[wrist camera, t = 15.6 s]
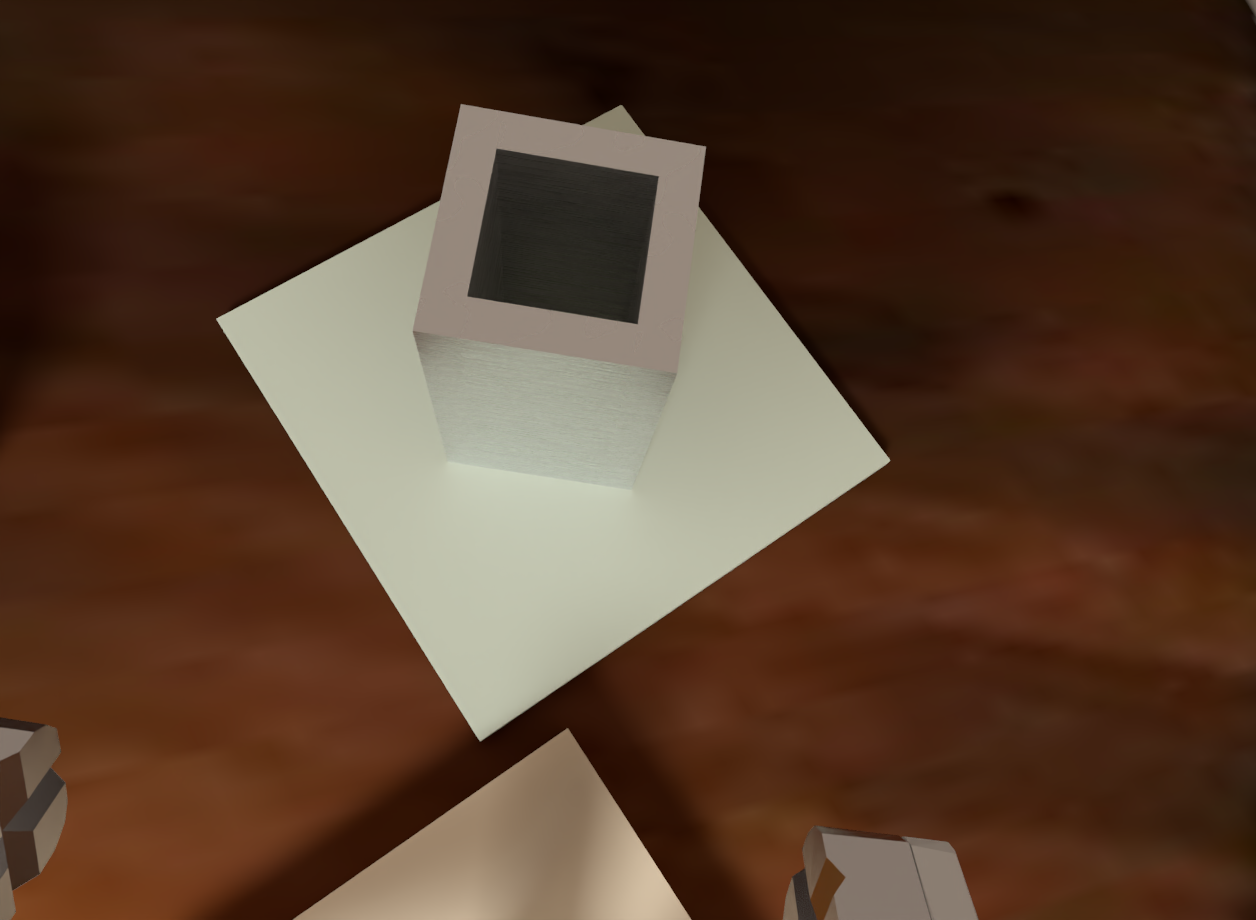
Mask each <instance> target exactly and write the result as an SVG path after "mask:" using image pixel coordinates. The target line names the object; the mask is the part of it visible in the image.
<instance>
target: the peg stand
mask: <svg viewBox="0 0 1256 920" xmlns="http://www.w3.org/2000/svg"><path fill="white" fill-rule="evenodd" d="M293 920H691V918H690V917H689V915H688V914H687V912H686V911H685V909H684V908H683V906H682V905H681V903H680V901H679V900H678V898H677V897H676V895H675V894H674V892H673V891H672V889H671V887H670V886H669V884H668V883H667V881H666V880H665V878H664V877H663V875H662V873H661V872H660V870H659V869H658V867H657V866H656V864H655V863H654V861H653V860H652V858H651V856H650V855H649V853H648V852H647V850H646V849H645V847H644V846H643V844H642V842H641V841H640V839H639V838H638V836H637V835H636V833H635V832H634V830H633V828H632V827H631V825H630V824H629V822H628V821H627V819H626V818H625V816H624V815H623V813H622V811H621V810H620V808H619V807H618V805H617V804H616V802H615V801H614V799H613V797H612V796H611V794H610V793H609V791H608V790H607V788H606V787H605V785H604V783H603V782H602V780H601V779H600V777H599V776H598V774H597V773H596V771H595V770H594V768H593V766H592V765H591V763H590V762H589V760H588V759H587V757H586V756H585V754H584V752H583V751H582V749H581V748H580V746H579V745H578V743H577V742H576V740H575V738H574V737H573V735H572V734H571V732H570V731H569V729H568V728H567V729H566V730H564V731H563V732H561V733H560V734H558V735H557V736H556V737H554V738H553V739H551V740H550V741H548V742H547V743H546V744H544V745H543V746H541V747H540V748H538V749H537V750H535V751H534V752H533V753H531V754H530V755H528V756H527V757H525V758H524V759H523V760H521V761H520V762H518V763H517V764H515V765H514V766H512V767H511V768H510V769H508V770H507V771H505V772H504V773H502V774H501V775H500V776H498V777H497V778H495V779H494V780H492V781H491V782H490V783H488V784H487V785H485V786H484V787H482V788H481V789H479V790H478V791H477V792H475V793H474V794H472V795H471V796H469V797H468V798H467V799H465V800H464V801H462V802H461V803H459V804H458V805H457V806H455V807H454V808H452V809H451V810H449V811H448V812H446V813H445V814H444V815H442V816H441V817H439V818H438V819H436V820H435V821H434V822H432V823H431V824H429V825H428V826H426V827H425V828H424V829H422V830H421V831H419V832H418V833H416V834H415V835H413V836H412V837H411V838H409V839H408V840H406V841H405V842H403V843H402V844H401V845H399V846H398V847H396V848H395V849H393V850H392V851H391V852H389V853H388V854H386V855H385V856H383V857H382V858H380V859H379V860H378V861H376V862H375V863H373V864H372V865H370V866H369V867H368V868H366V869H365V870H363V871H362V872H360V873H359V874H357V875H356V876H355V877H353V878H352V879H350V880H349V881H347V882H346V883H345V884H343V885H342V886H340V887H339V888H337V889H336V890H335V891H333V892H332V893H330V894H329V895H327V896H326V897H324V898H323V899H322V900H320V901H319V902H317V903H316V904H314V905H313V906H312V907H310V908H309V909H307V910H306V911H304V912H303V913H302V914H300V915H299V916H297V917H296V918H294V919H293Z"/></svg>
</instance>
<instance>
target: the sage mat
mask: <svg viewBox="0 0 1256 920" xmlns="http://www.w3.org/2000/svg"><path fill="white" fill-rule="evenodd" d="M584 126H590V127H595V128H601V129H607V130H613V131H619V132H624V133H630V134H636V135H642V136H645V135H644V134H643V133H642V131H641V130H640V129H639V127H638V126H637V125H636V123H635V122H634V121H633V119H632V118H631V117H630V115H629V114H628V113H627V111H626V110H625V109H624V107H623V106H622V105H620V106H618V107H616V108H614V109H612V110H611V111H609V112H607V113H605V114H603V115H601V116H599V117H597V118H595V119H594V120H592V121H590V122H588V123H586V124H584ZM439 205H440V201H438V202H436V203H435V204H433V205H431V206H429V207H427V208H425V209H423V210H421V211H419V212H418V213H416V214H414V215H412V216H410V217H408V218H406V219H404V220H402V221H401V222H399V223H397V224H395V225H393V226H391V227H389V228H387V229H385V230H383V231H382V232H380V233H378V234H376V235H374V236H372V237H370V238H368V239H366V240H365V241H363V242H361V243H359V244H357V245H355V246H353V247H351V248H349V249H348V250H346V251H344V252H342V253H340V254H338V255H336V256H334V257H332V258H331V259H329V260H327V261H325V262H323V263H321V264H319V265H317V266H315V267H313V268H312V269H310V270H308V271H306V272H304V273H302V274H300V275H298V276H296V277H295V278H293V279H291V280H289V281H287V282H285V283H283V284H281V285H279V286H278V287H276V288H274V289H272V290H270V291H268V292H266V293H264V294H262V295H261V296H259V297H257V298H255V299H253V300H251V301H249V302H247V303H245V304H243V305H242V306H240V307H238V308H236V309H234V310H232V311H230V312H228V313H226V314H225V315H223V316H221V317H219V318H217V321H218V323H219V324H220V326H221V327H222V329H223V331H224V332H225V334H226V335H227V337H228V339H229V340H230V342H231V343H232V345H233V347H234V348H235V350H236V352H237V353H238V355H239V356H240V358H241V360H242V361H243V363H244V364H245V366H246V368H247V369H248V371H249V372H250V374H251V376H252V377H253V379H254V380H255V382H256V384H257V385H258V387H259V388H260V390H261V392H262V393H263V395H264V396H265V398H266V400H267V401H268V403H269V404H270V406H271V408H272V409H273V411H274V412H275V414H276V416H277V417H278V419H279V420H280V422H281V424H282V425H283V427H284V428H285V430H286V432H287V433H288V435H289V436H290V438H291V440H292V441H293V443H294V444H295V446H296V448H297V449H298V451H299V452H300V454H301V456H302V457H303V459H304V461H305V462H306V464H307V465H308V467H309V469H310V470H311V472H312V473H313V475H314V477H315V478H316V480H317V481H318V483H319V485H320V486H321V488H322V489H323V491H324V493H325V494H326V496H327V497H328V499H329V501H330V502H331V504H332V505H333V507H334V509H335V510H336V512H337V513H338V515H339V517H340V518H341V520H342V521H343V523H344V525H345V526H346V528H347V529H348V531H349V533H350V534H351V536H352V537H353V539H354V541H355V542H356V544H357V545H358V547H359V549H360V550H361V552H362V553H363V555H364V557H365V558H366V560H367V561H368V563H369V565H370V566H371V568H372V570H373V571H374V573H375V574H376V576H377V578H378V579H379V581H380V582H381V584H382V586H383V587H384V589H385V590H386V592H387V594H388V595H389V597H390V598H391V600H392V602H393V603H394V605H395V606H396V608H397V610H398V611H399V613H400V614H401V616H402V618H403V619H404V621H405V622H406V624H407V626H408V627H409V629H410V630H411V632H412V634H413V635H414V637H415V638H416V640H417V642H418V643H419V645H420V646H421V648H422V650H423V651H424V653H425V654H426V656H427V658H428V659H429V661H430V662H431V664H432V666H433V667H434V669H435V670H436V672H437V674H438V675H439V677H440V679H441V680H442V682H443V683H444V685H445V687H446V688H447V690H448V691H449V693H450V695H451V696H452V698H453V699H454V701H455V703H456V704H457V706H458V707H459V709H460V711H461V712H462V714H463V715H464V717H465V719H466V720H467V722H468V723H469V725H470V727H471V728H472V730H473V731H474V733H475V735H476V736H477V738H478V739H479V741H480V742H481V741H483V740H484V739H486V738H487V737H488V736H490V735H491V734H493V733H494V732H496V731H497V730H499V729H500V728H502V727H503V726H505V725H506V724H507V723H509V722H510V721H512V720H513V719H515V718H516V717H518V716H519V715H521V714H522V713H524V712H525V711H527V710H528V709H529V708H531V707H532V706H534V705H535V704H537V703H538V702H540V701H541V700H543V699H544V698H546V697H547V696H548V695H550V694H551V693H553V692H554V691H556V690H557V689H559V688H560V687H562V686H563V685H565V684H566V683H567V682H569V681H570V680H572V679H573V678H575V677H576V676H578V675H579V674H581V673H582V672H584V671H585V670H586V669H588V668H589V667H591V666H592V665H594V664H595V663H597V662H598V661H600V660H601V659H603V658H604V657H605V656H607V655H608V654H610V653H611V652H613V651H614V650H616V649H617V648H619V647H620V646H622V645H623V644H624V643H626V642H627V641H629V640H630V639H632V638H633V637H635V636H636V635H638V634H639V633H641V632H642V631H643V630H645V629H646V628H648V627H649V626H651V625H652V624H654V623H655V622H657V621H658V620H660V619H661V618H663V617H664V616H665V615H667V614H668V613H670V612H671V611H673V610H674V609H676V608H677V607H679V606H680V605H682V604H683V603H684V602H686V601H687V600H689V599H690V598H692V597H693V596H695V595H696V594H698V593H699V592H701V591H702V590H703V589H705V588H706V587H708V586H709V585H711V584H712V583H714V582H715V581H717V580H718V579H720V578H721V577H722V576H724V575H725V574H727V573H728V572H730V571H731V570H733V569H734V568H736V567H737V566H739V565H740V564H741V563H743V562H744V561H746V560H747V559H749V558H750V557H752V556H753V555H755V554H756V553H758V552H759V551H760V550H762V549H763V548H765V547H766V546H768V545H769V544H771V543H772V542H774V541H775V540H777V539H778V538H779V537H781V536H782V535H784V534H785V533H787V532H788V531H790V530H791V529H793V528H794V527H796V526H797V525H798V524H800V523H801V522H803V521H804V520H806V519H807V518H809V517H810V516H812V515H813V514H815V513H816V512H818V511H819V510H820V509H822V508H823V507H825V506H826V505H828V504H829V503H831V502H832V501H834V500H835V499H837V498H838V497H839V496H841V495H842V494H844V493H845V492H847V491H848V490H850V489H851V488H853V487H854V486H856V485H857V484H858V483H860V482H861V481H863V480H864V479H866V478H867V477H869V476H870V475H872V474H873V473H875V472H876V471H877V470H879V469H880V468H882V467H883V466H885V465H886V464H887V463H888V462H889V461H890V459H889V458H888V457H887V455H886V454H885V453H884V451H883V450H882V449H881V447H880V446H879V445H878V443H877V442H876V441H875V439H874V438H873V437H872V435H871V434H870V433H869V432H868V430H867V429H866V428H865V426H864V425H863V424H862V422H861V421H860V420H859V418H858V417H857V416H856V414H855V413H854V412H853V410H852V409H851V408H850V406H849V405H848V404H847V402H846V401H845V400H844V398H843V397H842V396H841V394H840V393H839V392H838V390H837V389H836V388H835V387H834V385H833V384H832V383H831V381H830V380H829V379H828V377H827V376H826V375H825V373H824V372H823V371H822V369H821V368H820V367H819V365H818V364H817V363H816V361H815V360H814V359H813V357H812V356H811V355H810V353H809V352H808V351H807V349H806V348H805V347H804V346H803V344H802V343H801V342H800V340H799V339H798V338H797V336H796V335H795V334H794V332H793V331H792V330H791V328H790V327H789V326H788V324H787V323H786V322H785V320H784V319H783V318H782V316H781V315H780V314H779V312H778V311H777V310H776V308H775V307H774V306H773V305H772V303H771V302H770V301H769V299H768V298H767V297H766V295H765V294H764V293H763V291H762V290H761V289H760V287H759V286H758V285H757V283H756V282H755V281H754V279H753V278H752V277H751V275H750V274H749V273H748V271H747V270H746V269H745V267H744V266H743V265H742V264H741V262H740V261H739V260H738V258H737V257H736V256H735V254H734V253H733V252H732V250H731V249H730V248H729V246H728V245H727V244H726V242H725V241H724V240H723V238H722V237H721V236H720V234H719V233H718V232H717V230H716V229H715V228H714V226H713V225H712V224H711V223H710V221H709V220H708V219H707V217H706V216H705V215H704V213H703V212H702V211H701V209H700V208H699V207H698V213H697V221H696V229H695V237H694V245H693V253H692V261H691V269H690V277H689V284H688V292H687V300H686V308H685V316H684V324H683V332H682V340H681V347H680V355H679V363H678V371H677V375H676V378H675V380H674V383H673V385H672V388H671V390H670V393H669V396H668V398H667V401H666V403H665V406H664V408H663V411H662V413H661V416H660V419H659V421H658V424H657V426H656V429H655V431H654V434H653V436H652V439H651V441H650V444H649V447H648V449H647V452H646V454H645V457H644V459H643V462H642V464H641V467H640V470H639V472H638V475H637V477H636V480H635V482H634V485H633V487H632V490H628V489H621V488H615V487H608V486H602V485H595V484H589V483H582V482H576V481H569V480H563V479H556V478H550V477H543V476H537V475H530V474H524V473H517V472H511V471H504V470H498V469H491V468H485V467H478V466H472V465H466V464H459V463H453V462H448V461H447V458H446V454H445V450H444V447H443V443H442V439H441V435H440V432H439V428H438V424H437V420H436V417H435V413H434V409H433V405H432V402H431V398H430V394H429V391H428V387H427V383H426V379H425V376H424V372H423V368H422V364H421V361H420V357H419V353H418V349H417V346H416V342H415V338H414V335H413V326H414V321H415V317H416V312H417V307H418V303H419V298H420V293H421V289H422V284H423V279H424V275H425V270H426V265H427V261H428V256H429V251H430V247H431V242H432V237H433V233H434V228H435V223H436V219H437V214H438V209H439Z"/></svg>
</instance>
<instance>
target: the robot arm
mask: <svg viewBox="0 0 1256 920" xmlns="http://www.w3.org/2000/svg"><path fill="white" fill-rule="evenodd" d="M60 753H61V749H60V744H59V739H58V733H57V729H56V728H54V727H51V726H48V725H44V724H38V723H32V722H25V721H19V720H13V719H6V718H0V920H11V918H12V917H13V915H14V914H15V912H16V910H15V904H14V899H13V893H12V891H13V890H14V889H16V888H18V887H19V886H21V885H23V884H24V883H26V882H28V881H29V880H31V879H32V878H34V877H36V876H37V875H39V874H40V873H41V871H42V870H43V868H44V866H45V865H46V863H47V862H48V860H49V858H50V857H51V855H52V853H53V852H54V850H55V848H56V845H57V842H58V839H59V837H60V834H61V831H62V828H63V826H64V823H65V818H66V809H67V792H66V783H65V782H64V781H63V780H62V779H61V778H60V777H59V776H58V775H57V774H56V773H55V772H54V770H53V769H52V768H51V766H52V764H53V763H54V761H55V760H56V758H57V757H58V756H59V754H60ZM802 851H803V857H804V864H805V869H803V870H802V871H800V872H799V873H797V874H796V875H794V876H793V877H792V879H791V883H790V886H789V889H788V892H787V895H786V900H785V908H784V916H783V920H978V917H977V914H976V911H975V908H974V905H973V902H972V899H971V896H970V893H969V891H968V888H967V885H966V882H965V879H964V876H963V873H962V870H961V867H960V864H959V861H958V858H957V855H956V852H955V850H954V849H953V848H952V846H951V845H950V844H949V843H948V842H943V841H935V840H927V839H919V838H911V837H900V836H898V835H890V834H881V833H873V832H865V831H856V830H848V829H840V828H832V827H823V826H815V825H814V827H813V828H812V829H811V830H810V831H809V832H808V835H807V837H806V840H805V843H804V845H803V848H802Z"/></svg>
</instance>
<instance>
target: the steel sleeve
mask: <svg viewBox="0 0 1256 920" xmlns="http://www.w3.org/2000/svg"><path fill="white" fill-rule="evenodd" d="M705 150H706V147H705V146H699V145H693V144H688V143H682V142H676V141H670V140H665V139H659V138H653V137H647V136H642V135H636V134H630V133H624V132H619V131H613V130H607V129H601V128H595V127H590V126H584V125H578V124H572V123H567V122H561V121H555V120H549V119H544V118H538V117H532V116H526V115H521V114H515V113H509V112H503V111H498V110H492V109H486V108H480V107H475V106H469V105H463V104H461V106H460V111H459V116H458V120H457V125H456V130H455V134H454V139H453V144H452V149H451V153H450V158H449V163H448V167H447V172H446V177H445V181H444V186H443V191H442V195H441V200H440V205H439V209H438V214H437V219H436V223H435V228H434V233H433V237H432V242H431V247H430V251H429V256H428V261H427V265H426V270H425V275H424V279H423V284H422V289H421V293H420V298H419V303H418V307H417V312H416V317H415V321H414V326H413V335H414V338H415V342H416V346H417V349H418V353H419V357H420V361H421V364H422V368H423V372H424V376H425V379H426V383H427V387H428V391H429V394H430V398H431V402H432V405H433V409H434V413H435V417H436V420H437V424H438V428H439V432H440V435H441V439H442V443H443V447H444V450H445V454H446V458H447V461H448V462H453V463H459V464H466V465H472V466H478V467H485V468H491V469H498V470H504V471H511V472H517V473H524V474H530V475H537V476H543V477H550V478H556V479H563V480H569V481H576V482H582V483H589V484H595V485H602V486H608V487H615V488H621V489H628V490H632V487H633V485H634V482H635V480H636V477H637V475H638V472H639V470H640V467H641V464H642V462H643V459H644V457H645V454H646V452H647V449H648V447H649V444H650V441H651V439H652V436H653V434H654V431H655V429H656V426H657V424H658V421H659V419H660V416H661V413H662V411H663V408H664V406H665V403H666V401H667V398H668V396H669V393H670V390H671V388H672V385H673V383H674V380H675V378H676V375H677V371H678V363H679V355H680V347H681V340H682V332H683V324H684V316H685V308H686V300H687V292H688V284H689V277H690V269H691V261H692V253H693V245H694V237H695V229H696V221H697V213H698V206H699V198H700V190H701V182H702V174H703V166H704V158H705Z"/></svg>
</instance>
